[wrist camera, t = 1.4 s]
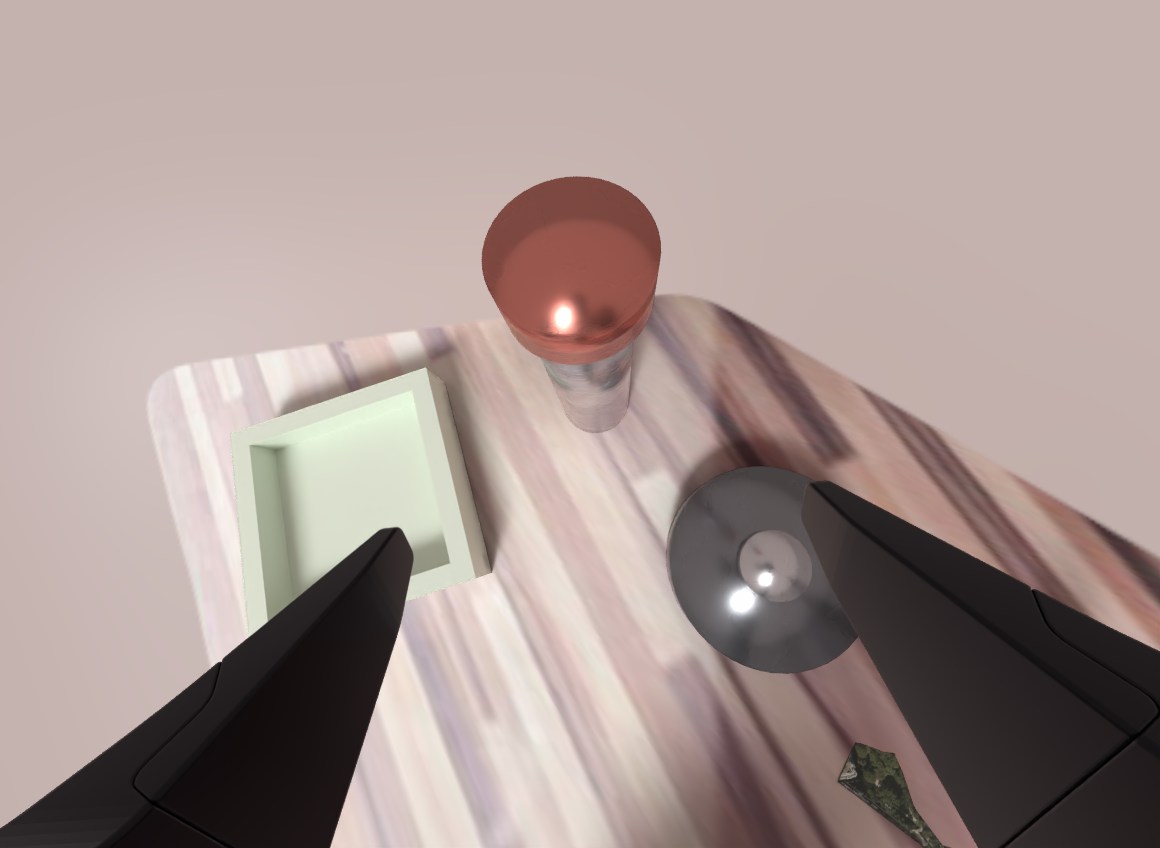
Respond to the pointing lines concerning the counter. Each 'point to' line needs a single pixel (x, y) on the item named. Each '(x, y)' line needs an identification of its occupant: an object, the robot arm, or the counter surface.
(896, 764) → the eiffel tower figurine
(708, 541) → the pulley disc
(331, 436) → the tray
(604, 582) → the counter surface
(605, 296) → the pin
